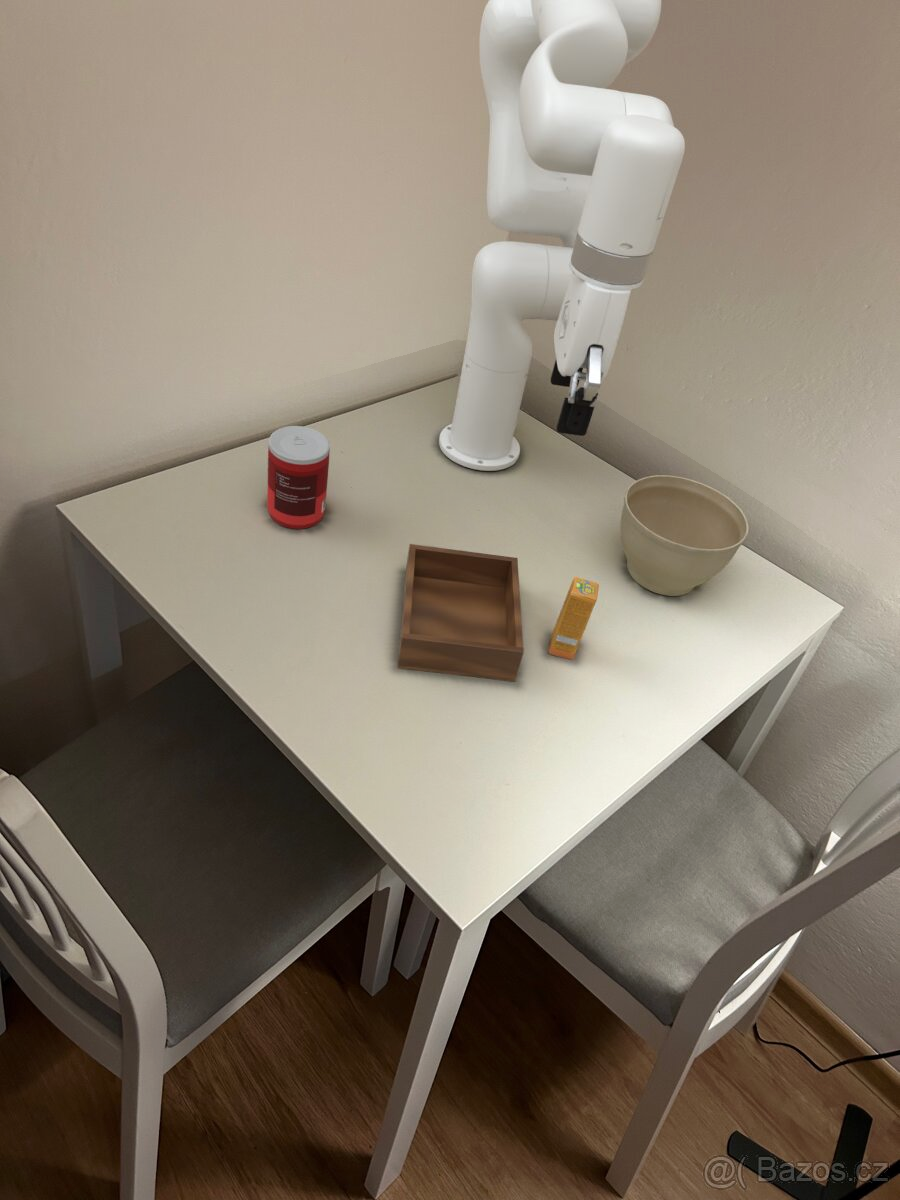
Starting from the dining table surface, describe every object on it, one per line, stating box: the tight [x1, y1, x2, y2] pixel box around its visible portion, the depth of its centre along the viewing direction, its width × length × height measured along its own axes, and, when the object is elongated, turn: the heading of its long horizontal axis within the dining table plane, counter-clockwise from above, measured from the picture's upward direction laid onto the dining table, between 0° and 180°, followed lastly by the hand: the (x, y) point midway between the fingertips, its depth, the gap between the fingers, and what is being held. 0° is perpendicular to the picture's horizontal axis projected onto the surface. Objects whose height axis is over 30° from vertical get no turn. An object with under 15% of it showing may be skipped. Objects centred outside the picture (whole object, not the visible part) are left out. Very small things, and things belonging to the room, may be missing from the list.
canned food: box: [266, 425, 331, 530], centre depth 116 cm, size 8×8×11 cm
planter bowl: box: [619, 474, 750, 597], centre depth 119 cm, size 16×16×11 cm
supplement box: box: [548, 576, 600, 661], centre depth 105 cm, size 3×3×10 cm
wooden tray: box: [396, 543, 524, 682], centre depth 107 cm, size 17×14×5 cm
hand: (566, 408), depth 99 cm, fingers open, 9 cm apart
